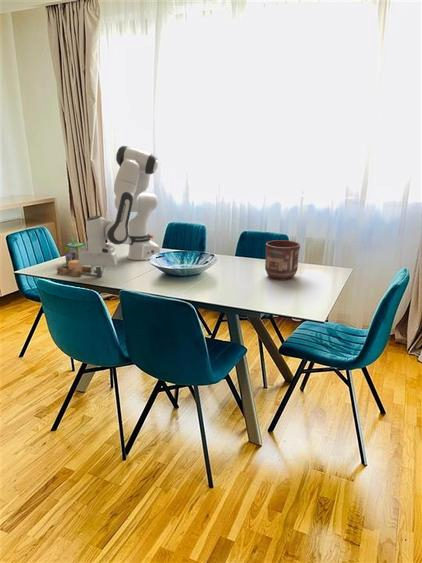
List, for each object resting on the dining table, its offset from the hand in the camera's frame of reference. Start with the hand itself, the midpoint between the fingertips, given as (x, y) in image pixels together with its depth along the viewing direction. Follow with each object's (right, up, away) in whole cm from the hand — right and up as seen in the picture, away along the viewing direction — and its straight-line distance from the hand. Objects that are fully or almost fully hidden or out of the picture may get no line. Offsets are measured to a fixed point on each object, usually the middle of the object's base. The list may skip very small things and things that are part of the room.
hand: (99, 273), depth 218 cm
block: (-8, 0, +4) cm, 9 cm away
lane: (-14, 0, +7) cm, 16 cm away
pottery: (+96, -2, +3) cm, 96 cm away
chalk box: (-19, +6, +25) cm, 32 cm away
